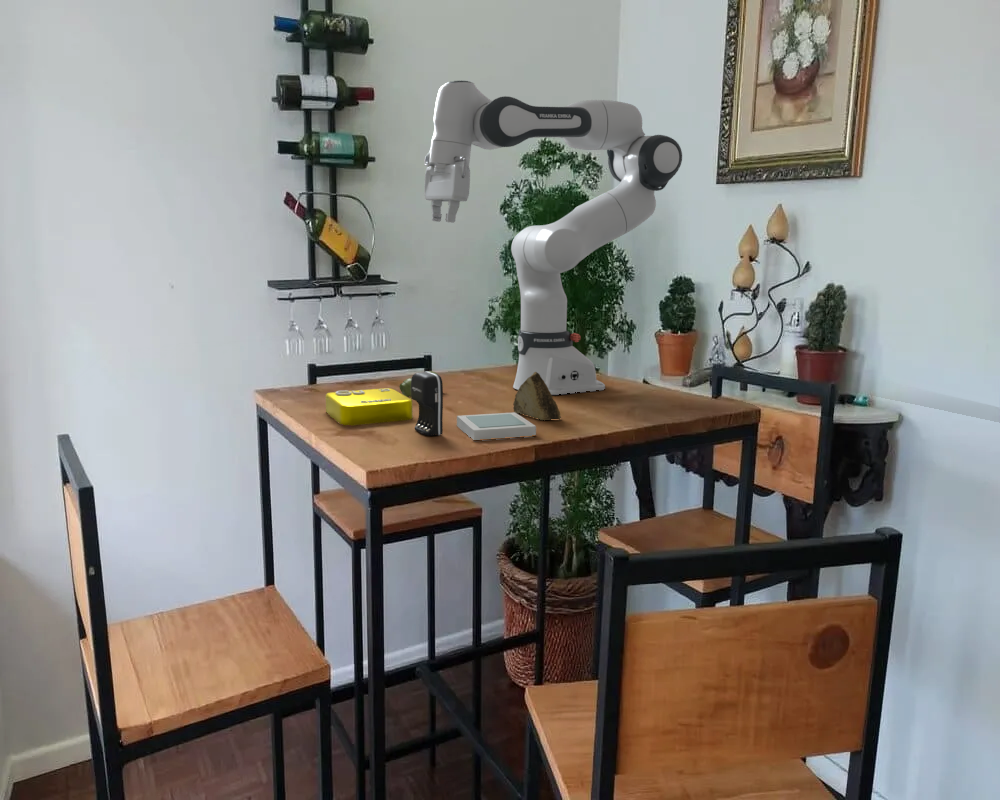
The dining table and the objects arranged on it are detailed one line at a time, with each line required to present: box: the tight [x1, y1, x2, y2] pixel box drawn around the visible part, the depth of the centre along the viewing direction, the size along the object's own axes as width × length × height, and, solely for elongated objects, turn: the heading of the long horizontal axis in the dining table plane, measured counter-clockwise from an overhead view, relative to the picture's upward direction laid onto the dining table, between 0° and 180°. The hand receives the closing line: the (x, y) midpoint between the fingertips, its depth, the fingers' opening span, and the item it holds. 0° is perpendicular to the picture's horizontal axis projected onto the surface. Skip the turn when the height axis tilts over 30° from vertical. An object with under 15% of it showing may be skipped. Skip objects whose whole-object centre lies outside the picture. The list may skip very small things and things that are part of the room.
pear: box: [399, 370, 439, 397], centre depth 182 cm, size 6×5×10 cm
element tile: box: [325, 387, 414, 426], centre depth 160 cm, size 15×15×5 cm
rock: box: [512, 372, 562, 421], centre depth 161 cm, size 11×9×10 cm
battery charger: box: [410, 371, 444, 437], centre depth 145 cm, size 7×4×11 cm, turn 33°
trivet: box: [456, 411, 537, 441], centre depth 148 cm, size 12×12×2 cm
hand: (443, 221), depth 175 cm, fingers open, 8 cm apart
